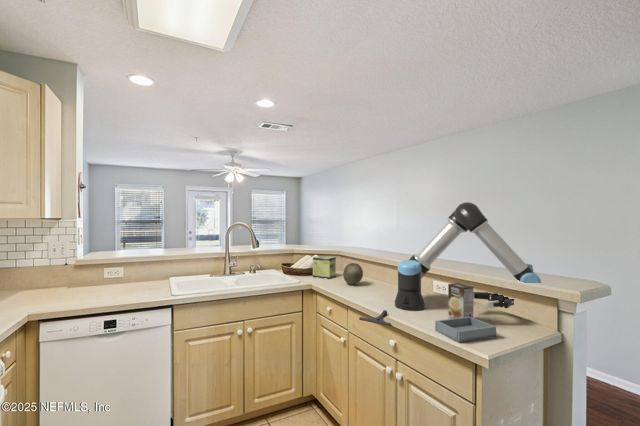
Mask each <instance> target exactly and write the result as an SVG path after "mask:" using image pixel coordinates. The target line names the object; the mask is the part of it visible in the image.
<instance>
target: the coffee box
mask: <svg viewBox="0 0 640 426" xmlns="http://www.w3.org/2000/svg"><path fill="white" fill-rule="evenodd" d="M447 288H448V293H447V294H448V297H447V300H448V301H447V304H448V306H447V307H448V310H447V316H448V318H447V319H453V318H462V317H473V318H474V299H473V292H474V286H470V285H467V284H465V283H464V284H463V283H461V282H456V283H448V286H447Z"/></svg>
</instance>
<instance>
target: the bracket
mask: <svg viewBox="0 0 640 426" xmlns="http://www.w3.org/2000/svg"><path fill="white" fill-rule="evenodd" d="M387 315H388V311H387V310H385V309H384V310H382V312H381V313H380V315H378V316H376V317H370V318H367V317H362V316H359V318H358V320H359V321H363V322H369V323H373V324H378V325H384V326H388V327H390V326H392V323H390V322H388V321H387V322H386V321H385V320H384V317H385V316H387Z"/></svg>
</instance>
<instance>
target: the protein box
mask: <svg viewBox="0 0 640 426" xmlns="http://www.w3.org/2000/svg"><path fill="white" fill-rule="evenodd" d="M336 258H337V257H333V256H315V257H312V278H316V277H319V278H318V279H324V278H327V280H331V279H334V278H336V276H337V275H336V274H337V273H336V271H337V269H336V268H337V267H336V266H337V264H336V262H337V261H336ZM333 277H334V278H333Z"/></svg>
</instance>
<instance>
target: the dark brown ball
mask: <svg viewBox="0 0 640 426" xmlns="http://www.w3.org/2000/svg"><path fill="white" fill-rule="evenodd" d="M342 274H343V276H342V277H343V278H344V282H345V284H347V285H350V286H353V285H357V284H359V283H360V282H361V280H362V279H363V276H364V271H363V268H362V267H361V265H360V264H358V263H354V262H350V263H348V264H347V265H346V266H345V267H344V269H343V272H342Z"/></svg>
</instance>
